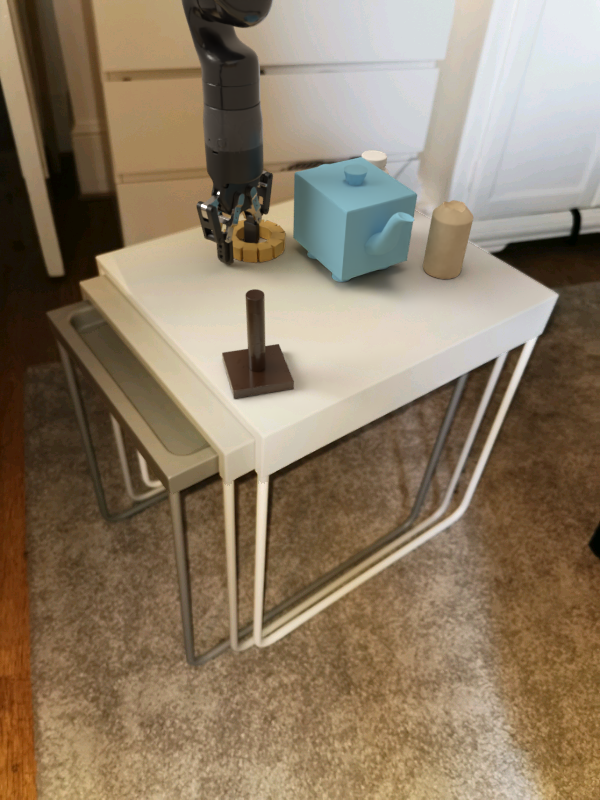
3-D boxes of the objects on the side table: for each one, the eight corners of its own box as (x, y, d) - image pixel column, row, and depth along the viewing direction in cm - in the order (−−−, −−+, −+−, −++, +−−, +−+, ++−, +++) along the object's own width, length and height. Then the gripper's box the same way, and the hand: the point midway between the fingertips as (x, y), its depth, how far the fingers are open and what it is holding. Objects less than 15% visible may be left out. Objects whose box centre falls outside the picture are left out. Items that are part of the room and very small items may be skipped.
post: (233, 399, 72) (228, 318, 64) (222, 360, 77) (216, 280, 69) (293, 388, 73) (295, 308, 65) (278, 351, 78) (279, 272, 70)
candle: (449, 283, 90) (464, 218, 83) (415, 270, 92) (426, 205, 85) (467, 267, 93) (482, 203, 86) (434, 254, 95) (446, 191, 88)
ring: (236, 267, 91) (236, 255, 90) (214, 237, 97) (213, 225, 96) (294, 254, 94) (295, 242, 93) (270, 226, 100) (270, 214, 99)
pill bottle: (369, 219, 103) (374, 165, 97) (346, 207, 106) (350, 154, 99) (391, 209, 105) (398, 156, 99) (367, 197, 108) (373, 145, 102)
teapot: (284, 239, 97) (284, 150, 88) (344, 223, 102) (351, 135, 92) (365, 315, 84) (377, 219, 74) (432, 292, 88) (451, 198, 78)
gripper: (245, 114, 88) (249, 226, 99) (173, 148, 79) (186, 266, 91) (290, 127, 85) (288, 241, 96) (220, 163, 76) (228, 284, 88)
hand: (239, 253), depth 93 cm, fingers open, 5 cm apart
